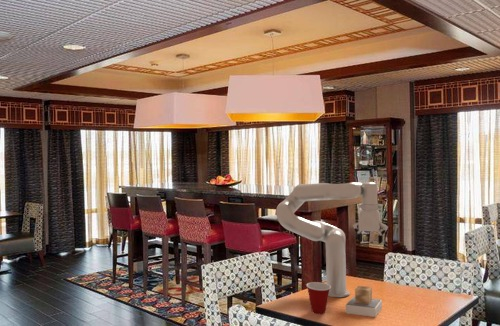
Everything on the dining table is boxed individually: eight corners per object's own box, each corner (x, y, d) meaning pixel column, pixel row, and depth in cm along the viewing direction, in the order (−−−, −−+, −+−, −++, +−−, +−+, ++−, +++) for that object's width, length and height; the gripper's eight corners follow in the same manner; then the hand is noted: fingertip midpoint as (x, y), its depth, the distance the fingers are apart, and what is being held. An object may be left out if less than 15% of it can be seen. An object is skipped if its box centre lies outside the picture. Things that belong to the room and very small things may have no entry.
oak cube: (355, 302, 212) (355, 289, 211) (358, 299, 217) (358, 285, 217) (368, 304, 209) (368, 290, 209) (372, 300, 214) (371, 287, 214)
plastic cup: (325, 317, 205) (325, 289, 205) (302, 313, 210) (302, 286, 210) (335, 310, 214) (334, 283, 214) (313, 307, 220) (312, 280, 220)
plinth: (345, 313, 210) (345, 304, 210) (353, 304, 222) (353, 296, 222) (375, 317, 204) (375, 307, 204) (381, 308, 216) (381, 299, 216)
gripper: (350, 207, 237) (350, 242, 237) (385, 209, 228) (385, 245, 228) (355, 206, 243) (355, 240, 243) (389, 207, 234) (390, 242, 234)
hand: (370, 242), depth 236 cm, fingers open, 9 cm apart
